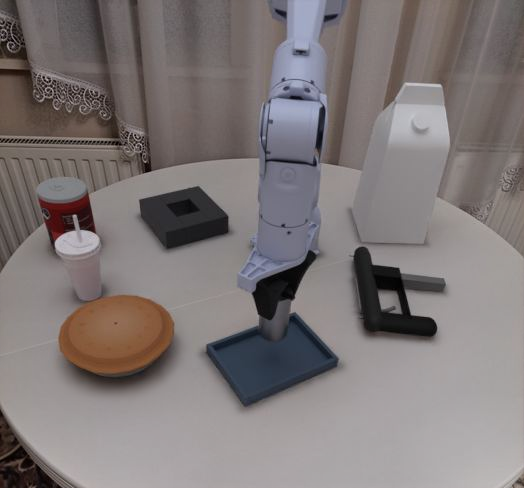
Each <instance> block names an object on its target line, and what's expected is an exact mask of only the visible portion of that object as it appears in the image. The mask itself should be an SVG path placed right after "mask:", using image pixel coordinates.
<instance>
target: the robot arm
mask: <svg viewBox="0 0 524 488" xmlns="http://www.w3.org/2000/svg"><path fill="white" fill-rule="evenodd" d="M266 2H267V5H268V10H269V13H270V15H271V19H272V20H274V21H277V22H279V23H280V24H282V25H284V28H285V31H286V34H285V35H286V36H285V40H284V41H282V42H281V43H280V44H279V45H278V46H277V48H276V50H274V54H273V56H272V57H273V58H272V65H271V72H270V79H269V86H268V93H267V94H268V95H267V102H266V103H265V102H262V104H261V107H260V112H259V119H258V129H257V130H258V131H257V151H258V159H259V161H258V163H259V167H258V168H259V169H258V186H257V201H258V204H259V205H258V207H259V208H258V221H257V223H258V224H257V225H258V226H257V233H255V234H254V235H253V236H251V237H250V239H249V244H250V245H252V246H253V248H252V250H251V252H250V254H249V256H248V258H247V260H246V262H245V264H244V265H243V267H242V268H241V269H240V270H239V271H238V272H237V274H236V277H237V278H236V287H237V288H239V289H241V290H243V291H244V292H247V293H249V294H251V295H252V299H253V302H254V304H255V309H256V313H257V315H258V317H259V316H261V317H263V318H265V319H267V320H269V321H271V320H272V319H273V318H274V316H275V313H276V310H277V305H278V301H279V298H280V295H281V293H282V291H283V290H284V288H285V287H286V286H287V285H288V286H289V287H290V288H291V290H292V295H293V296H295V297H296V294H297V292H298V290H299V287H300V285H301V282H302V281H303V278H304V276H305V274H306V273H307V271H308V269H309V268H310V266H312V264H313V263H315V261H316V259H317V256H318V255H320V251H319V250H318V245H319V238H320V232H321V227H322V226H321V225H322V216H321V210H320V207H319V206H318V202H319V196H320V188H321V178H322V177H321V176H322V175H321V174H322V163H321V162H322V159H323V157H324V153H325V148H326V141H327V134H328V125H329V108H328V95H327V94H326V85H327V76H328V74H327V73H328V61H329V60H328V55H327V53H326V51H325V49H324V47H323V46H322V45H321V43H320V40H321V38H322V36H323V34H324V33H325V31H326V29H328V28H332V27H335V26H339V25H340V24H341V21H342V20H343V19H344V16H345V13H346V11H347V10H348V7H349V2H350V0H266ZM316 151H317V153H318V156H317V155H315V152H316Z"/></svg>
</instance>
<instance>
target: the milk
mask: <svg viewBox="0 0 524 488" xmlns="http://www.w3.org/2000/svg"><path fill="white" fill-rule="evenodd" d="M444 94H445V93H444V88H443V85H442V84H440V83H423V82H404V83H403V85H402V86H401V88H400V90H398V93H397V95H396V96H395V98H394V100H393V101H392V102H390V104H389V105H387V106H386V108H384V109H383V110H382V111H381V112H379V114H378V115H377V117H376V119H375V121H374V124H373V128H372V132H371V136H370V139H369V143H368V147H367V151H366V155H365V157H364V162H363V166H362V169H361V173H360V176H359V182H358V185H357V188H356V192H355V195H354V199H353V202H352V203H353V204H352V207H351V213H352V216H353V220H354V223H355V226H356V231H357V233H358V237H359V240H360V242H361V243H375V244H377V243H378V244H406V245H409V244H411V245H424V244H425V241H426V237H427V233H428V230H429V225H430V222H431V218H432V215H433V211H434V207H435V204H436V201H437V197H438V193H439V190H440V186H441V182H442V178H443V176H444V171H445V168H446V164H447V160H448V157H449V153H450V147H451V139H450V131H449V124H448V123H449V122H448V117H447V110H446V102H445V95H444Z"/></svg>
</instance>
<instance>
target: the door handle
mask: <svg viewBox="0 0 524 488" xmlns="http://www.w3.org/2000/svg"><path fill="white" fill-rule="evenodd" d="M348 256H349V257H353V263H354V270H355V277H354V282H355V287H356V293H357V301H358V307H359V314H361V316H362V317H358V319H360V320H362V323H363V327H364V330H366V331H367V332H368V333H372V334H373V333H374V334H376V333H379V332H381V333H388V334H389V333H390V334H397V335H398V334H399V335H407V336H415V337H424V338H432V337H435V335H436V334H437V332H438V325H437V322H436V321H435V319H434V318H432V317H430V316H424V315H423V316H422V315H414V314H412V313H411V309H410V305H409V301H408V296H407V293H406V289H405V288H407V289H415V290H424V291H431V292H438V293H439V292H441V293H443V292H444V290H445V288H446V286H447V283H446V280H445V277H438V276H437V277H435V276H429V275H419V274H412V273H402V272H401V268H400V267H397V266H396V267H395V266H388V265H380V264H373V259H372V255H371V252H370V251H369V248H368V247H367V246H363V245H362V246H358V247H357V248H356V249H355V250H354V252H353V255H348ZM379 290H385V291H393V292H396V294H397V297H398V298H397V299H398V302H399V306H400V310H401V313H397V312H393V311H395V310H397V307H396V306H395V305H392V306H390V307H387V308H382V306H381V302H380V296H379Z"/></svg>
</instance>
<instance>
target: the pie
mask: <svg viewBox="0 0 524 488" xmlns="http://www.w3.org/2000/svg"><path fill="white" fill-rule="evenodd" d="M174 331H175V322H174V320H173V318H172V315H171V314H170V313H169V312H168V311H167V309H165V307H163V306H162V305H161V304H159V303H157V302H156V301H154V300H152V299H151V298H147V297H143V296H139V295H135V294H134V295H133V294H132V295H131V294H119V295H111V296H105V297H102V298H101V297H100V298H97V299H95V300H92V301H88V302H87V303H85V304H83V305H81V306H79V307H78V308H76V309H75V310H74V311H73V312H72V313H70V314H69V315H68V316H67V318H66V319H65V320H64V322H63V323H62V324H61V326H60V329H59V332H58V337H57V339H58V347H59V351H60V352H61V353H62V355H63V357H64V358H65V359H66V360H67V361H68V362H70V363H71V364H73V365H75V366H76V367H79V368H81V369H83V370H87V371H88V372H90V373H92V374H95V375H98V376H102V377H105V378H123V377H124V378H125V377H130V376H133V375H135V374H138V373H141V372H143V371H144V370H145V369H147V368H149V367H150V366H151V365H152V364H154V362H155V361H156V360H157V359H158V358H159V357H161V355H162V354H163V353H164V352H166V350H167V349H168V348H169V347H170V344H171V341H172V339H173V336H174V333H175V332H174Z"/></svg>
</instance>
